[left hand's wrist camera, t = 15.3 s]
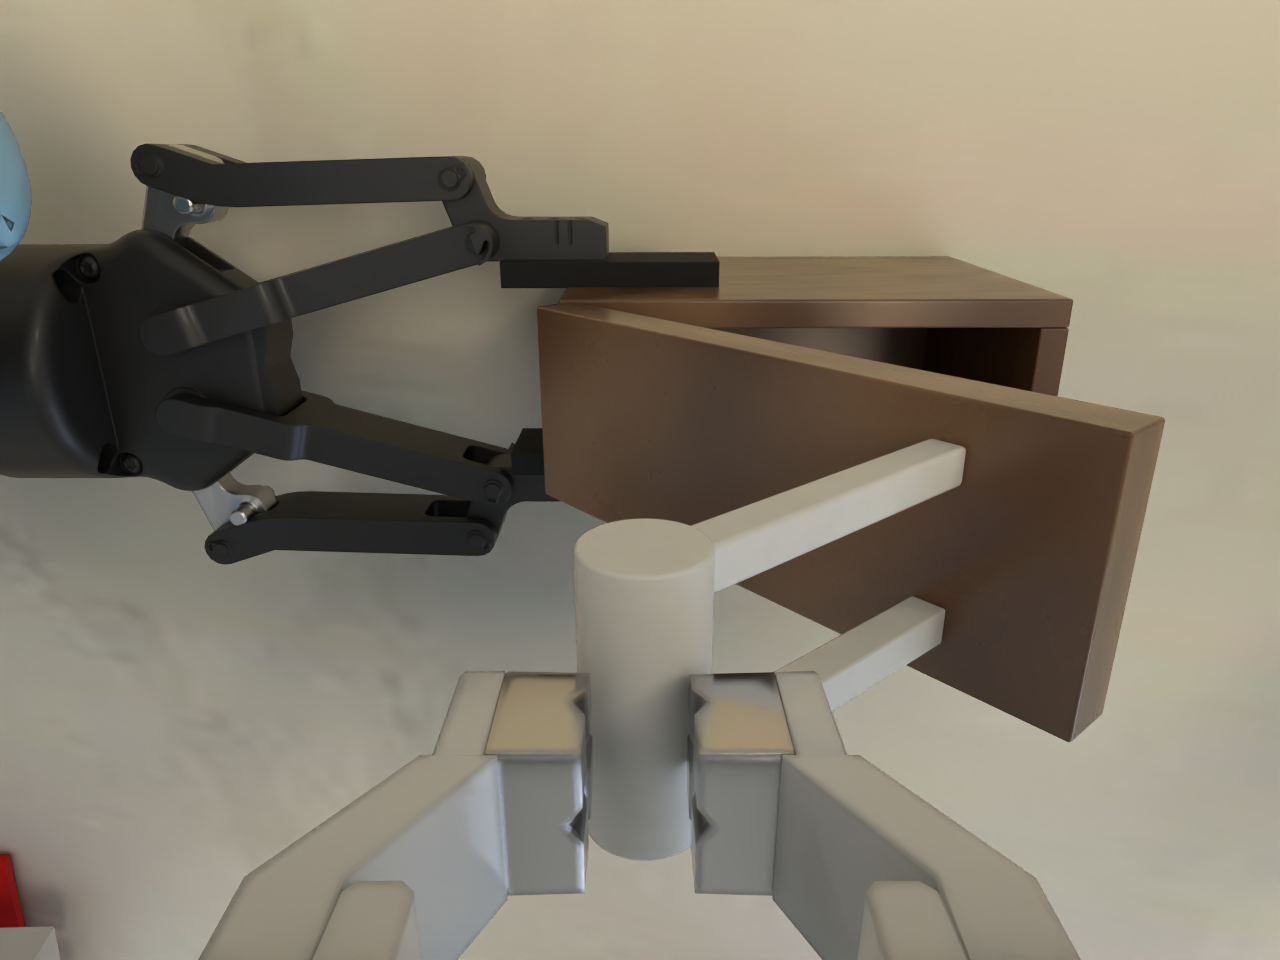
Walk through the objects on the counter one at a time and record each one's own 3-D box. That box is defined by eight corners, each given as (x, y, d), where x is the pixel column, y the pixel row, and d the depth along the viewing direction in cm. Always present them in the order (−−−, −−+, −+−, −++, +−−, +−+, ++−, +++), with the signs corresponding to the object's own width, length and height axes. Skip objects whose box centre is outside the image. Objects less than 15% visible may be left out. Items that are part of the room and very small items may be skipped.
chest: (950, 256, 34) (1074, 299, 23) (934, 389, 35) (1043, 482, 25) (587, 257, 34) (557, 299, 24) (590, 389, 36) (564, 480, 26)
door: (1166, 417, 13) (778, 603, 8) (1103, 714, 15) (753, 1033, 9) (573, 301, 24) (235, 346, 18) (579, 483, 25) (273, 572, 20)
